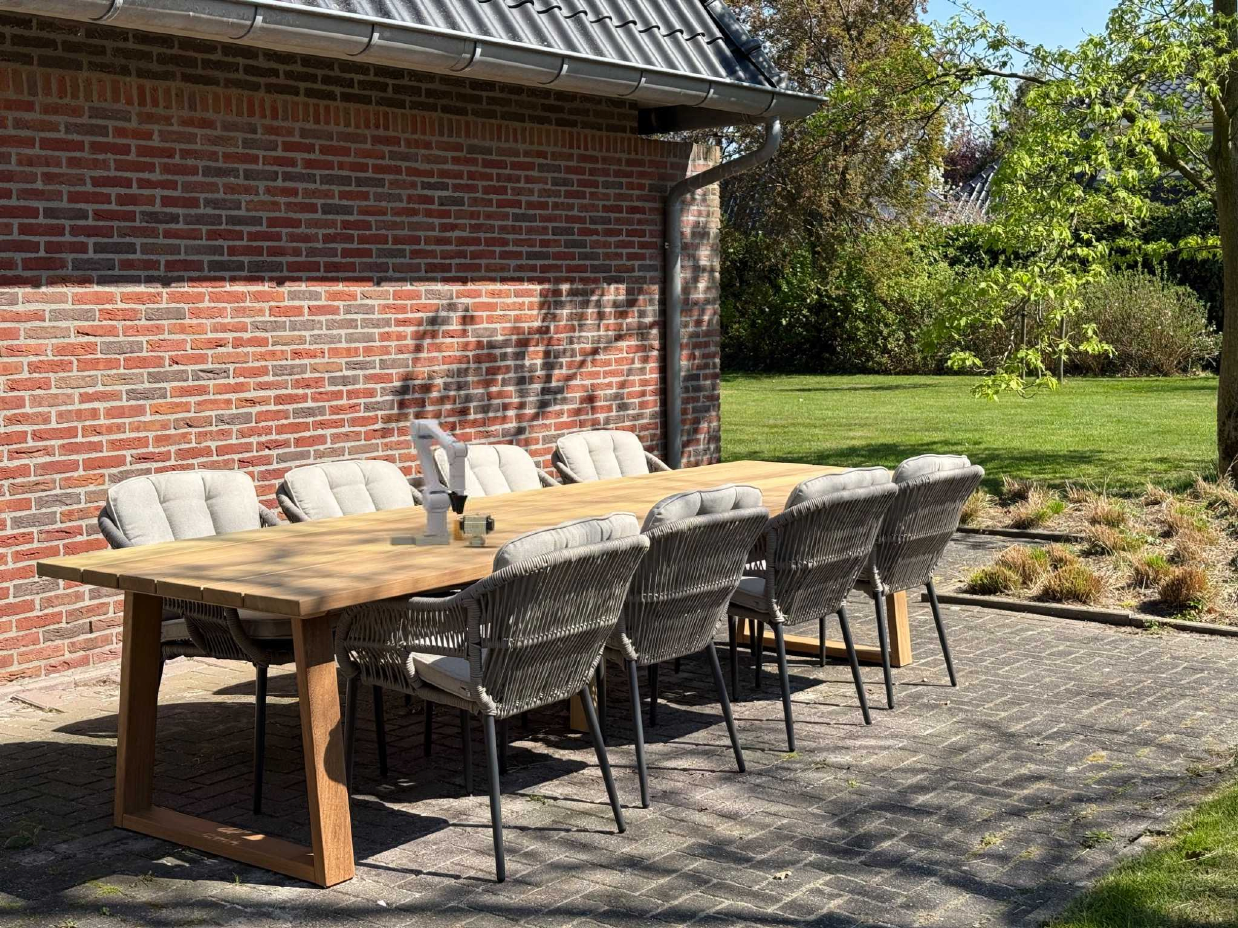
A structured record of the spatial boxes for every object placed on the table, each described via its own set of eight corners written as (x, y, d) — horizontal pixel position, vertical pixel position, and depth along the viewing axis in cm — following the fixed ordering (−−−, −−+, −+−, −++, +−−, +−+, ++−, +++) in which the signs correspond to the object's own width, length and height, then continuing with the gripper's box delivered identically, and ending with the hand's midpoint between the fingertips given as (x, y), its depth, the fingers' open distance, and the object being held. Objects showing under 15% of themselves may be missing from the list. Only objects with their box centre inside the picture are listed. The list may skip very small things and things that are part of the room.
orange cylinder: (453, 539, 541) (452, 520, 541) (461, 539, 542) (461, 519, 542) (454, 540, 538) (454, 521, 538) (462, 540, 539) (462, 520, 539)
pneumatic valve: (462, 545, 526) (462, 511, 525) (495, 545, 525) (494, 512, 523) (458, 547, 521) (458, 513, 520) (491, 548, 519) (491, 513, 518)
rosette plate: (388, 542, 534) (388, 535, 534) (443, 539, 540) (443, 532, 540) (393, 546, 523) (393, 539, 523) (449, 544, 529) (449, 537, 529)
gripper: (442, 474, 544) (443, 511, 545) (449, 477, 530) (450, 515, 531) (461, 473, 546) (462, 510, 547) (469, 477, 532) (469, 515, 533)
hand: (457, 513), depth 539 cm, fingers open, 7 cm apart
